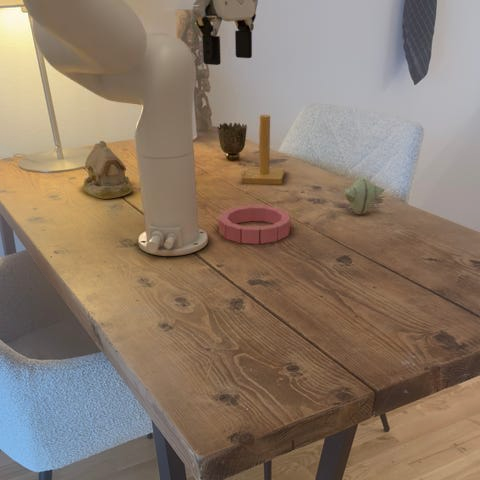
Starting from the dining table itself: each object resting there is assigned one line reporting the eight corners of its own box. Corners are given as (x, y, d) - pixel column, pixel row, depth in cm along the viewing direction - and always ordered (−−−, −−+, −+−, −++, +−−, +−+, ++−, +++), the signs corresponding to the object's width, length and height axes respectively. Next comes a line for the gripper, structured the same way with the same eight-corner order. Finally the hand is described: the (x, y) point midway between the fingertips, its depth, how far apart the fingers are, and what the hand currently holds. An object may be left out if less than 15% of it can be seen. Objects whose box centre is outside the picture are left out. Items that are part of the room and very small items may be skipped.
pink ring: (286, 245, 102) (287, 230, 100) (214, 242, 103) (214, 228, 102) (291, 219, 112) (292, 206, 110) (226, 217, 113) (225, 204, 112)
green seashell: (344, 219, 111) (348, 183, 107) (337, 212, 114) (340, 177, 110) (382, 215, 113) (387, 180, 108) (374, 209, 116) (378, 174, 111)
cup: (241, 164, 143) (241, 129, 138) (214, 162, 145) (213, 127, 140) (250, 156, 149) (250, 122, 144) (224, 154, 151) (223, 121, 146)
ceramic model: (77, 185, 131) (68, 138, 125) (122, 178, 135) (116, 132, 129) (96, 202, 122) (87, 152, 115) (144, 193, 126) (139, 144, 120)
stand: (281, 184, 130) (283, 120, 121) (242, 183, 131) (242, 119, 122) (284, 173, 137) (286, 112, 128) (247, 172, 138) (247, 111, 129)
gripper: (212, -71, 81) (217, 68, 92) (274, -68, 92) (272, 56, 103) (172, -69, 85) (181, 65, 96) (236, -66, 96) (238, 54, 107)
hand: (228, 60), depth 99 cm, fingers open, 9 cm apart
